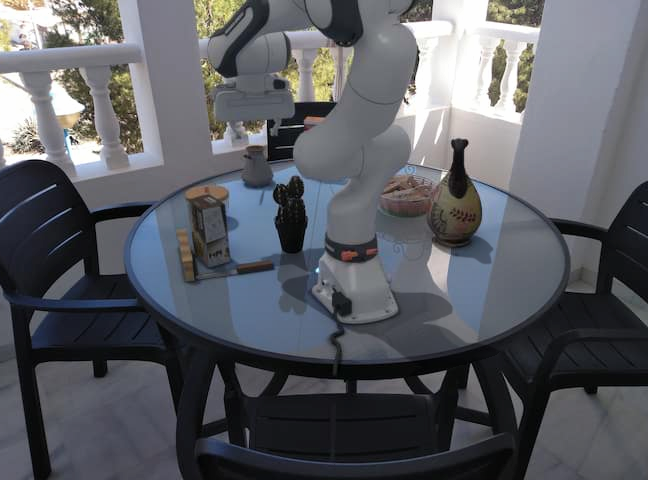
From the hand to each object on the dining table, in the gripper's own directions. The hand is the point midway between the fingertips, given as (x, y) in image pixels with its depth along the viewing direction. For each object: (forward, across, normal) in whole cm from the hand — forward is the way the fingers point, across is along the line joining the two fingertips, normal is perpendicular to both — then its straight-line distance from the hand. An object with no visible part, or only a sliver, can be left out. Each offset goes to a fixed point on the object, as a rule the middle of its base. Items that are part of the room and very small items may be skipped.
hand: (256, 137), depth 138 cm
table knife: (+29, -11, -18) cm, 35 cm away
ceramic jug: (+29, +50, -19) cm, 61 cm away
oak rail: (+29, -22, -9) cm, 37 cm away
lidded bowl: (+29, -12, +16) cm, 35 cm away
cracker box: (+29, +33, +43) cm, 62 cm away
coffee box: (+29, -15, -8) cm, 34 cm away
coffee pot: (+29, +6, +39) cm, 49 cm away
